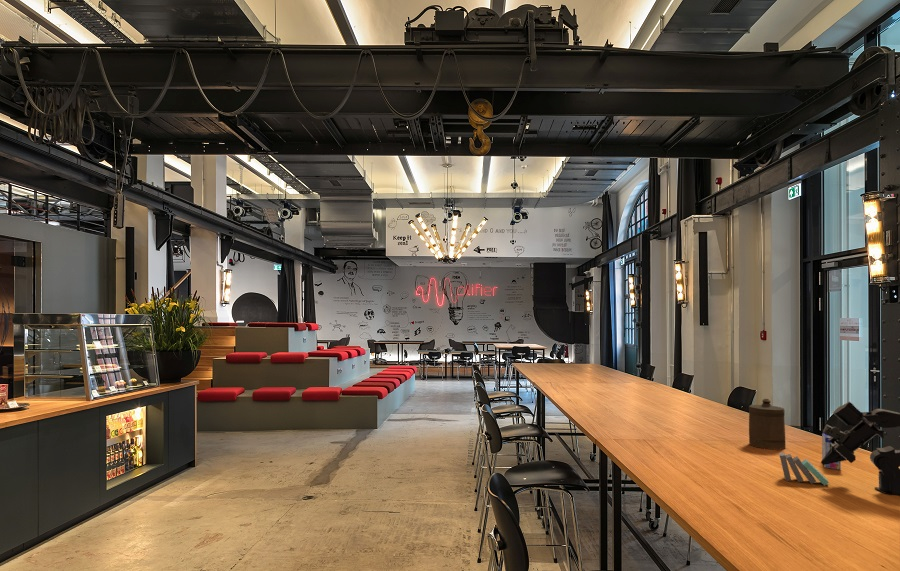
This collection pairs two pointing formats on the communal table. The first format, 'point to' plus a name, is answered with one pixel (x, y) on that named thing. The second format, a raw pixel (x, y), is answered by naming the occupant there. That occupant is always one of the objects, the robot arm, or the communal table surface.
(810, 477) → the domino
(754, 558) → the communal table surface
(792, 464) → the domino
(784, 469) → the domino end
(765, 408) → the wooden container
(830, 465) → the ink cartridge box
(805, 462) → the domino
